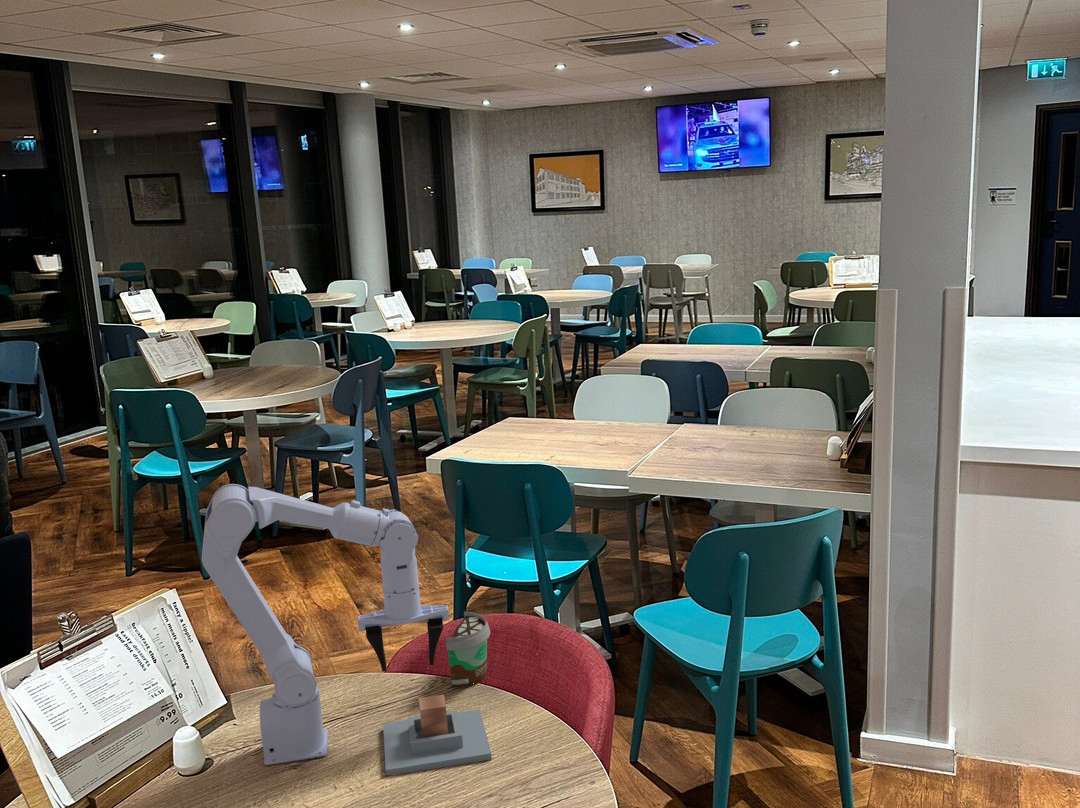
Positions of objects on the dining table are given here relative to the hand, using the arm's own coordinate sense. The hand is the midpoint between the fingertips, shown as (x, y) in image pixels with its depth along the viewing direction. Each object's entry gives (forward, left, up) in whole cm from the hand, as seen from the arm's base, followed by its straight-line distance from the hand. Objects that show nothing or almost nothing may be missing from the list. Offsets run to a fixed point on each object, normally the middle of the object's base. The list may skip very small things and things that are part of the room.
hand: (408, 665), depth 156 cm
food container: (+12, +14, -11) cm, 21 cm away
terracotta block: (+3, -7, -9) cm, 12 cm away
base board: (+3, -7, -10) cm, 13 cm away
